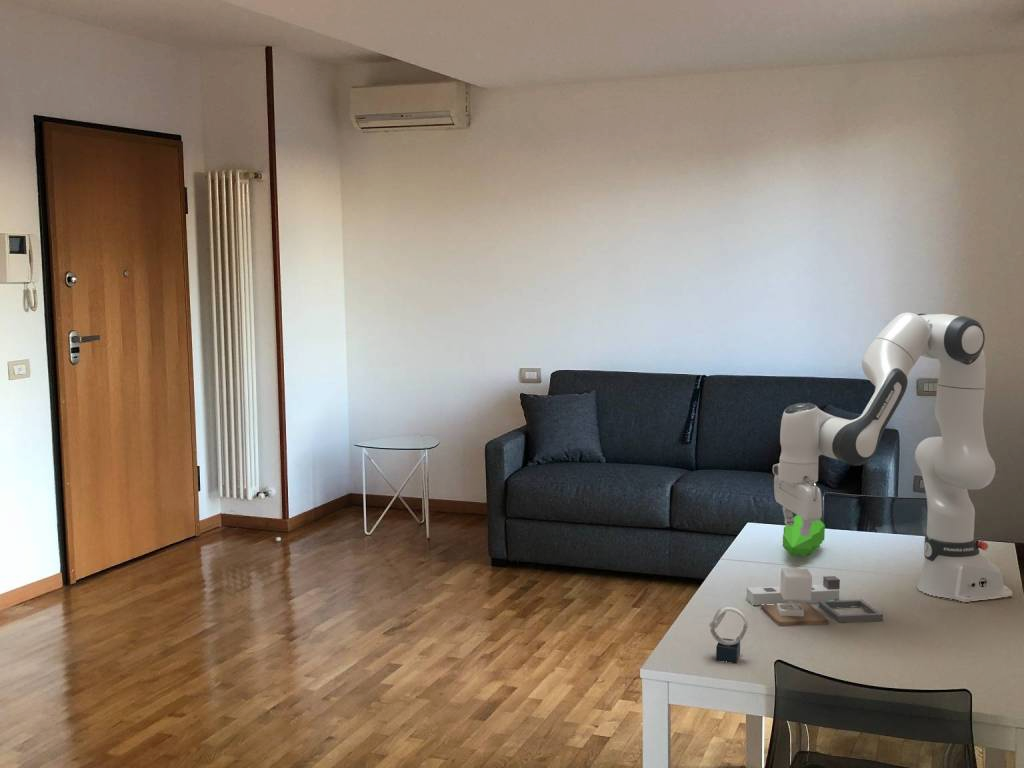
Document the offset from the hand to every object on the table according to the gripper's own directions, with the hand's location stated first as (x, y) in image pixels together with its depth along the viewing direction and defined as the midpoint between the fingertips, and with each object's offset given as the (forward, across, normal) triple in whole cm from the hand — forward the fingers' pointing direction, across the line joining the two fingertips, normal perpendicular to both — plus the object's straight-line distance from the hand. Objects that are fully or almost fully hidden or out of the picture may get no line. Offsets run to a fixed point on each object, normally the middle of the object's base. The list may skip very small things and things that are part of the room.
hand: (796, 530), depth 251 cm
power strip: (+21, +9, -4) cm, 23 cm away
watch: (+21, -23, +24) cm, 40 cm away
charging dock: (+21, 0, -14) cm, 25 cm away
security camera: (+20, 0, 0) cm, 20 cm away
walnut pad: (+21, 0, 0) cm, 21 cm away
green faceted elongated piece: (+21, +49, -21) cm, 58 cm away
